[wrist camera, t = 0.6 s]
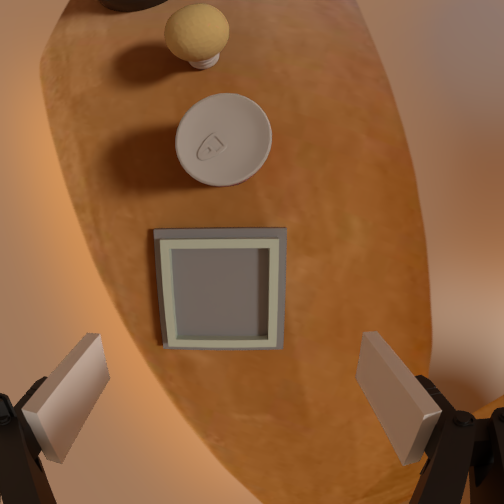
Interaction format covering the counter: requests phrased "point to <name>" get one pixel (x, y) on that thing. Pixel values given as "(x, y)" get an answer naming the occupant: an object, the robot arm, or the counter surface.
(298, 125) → the counter surface
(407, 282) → the counter surface
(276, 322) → the coaster
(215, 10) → the light bulb
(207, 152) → the canned food
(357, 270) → the counter surface
